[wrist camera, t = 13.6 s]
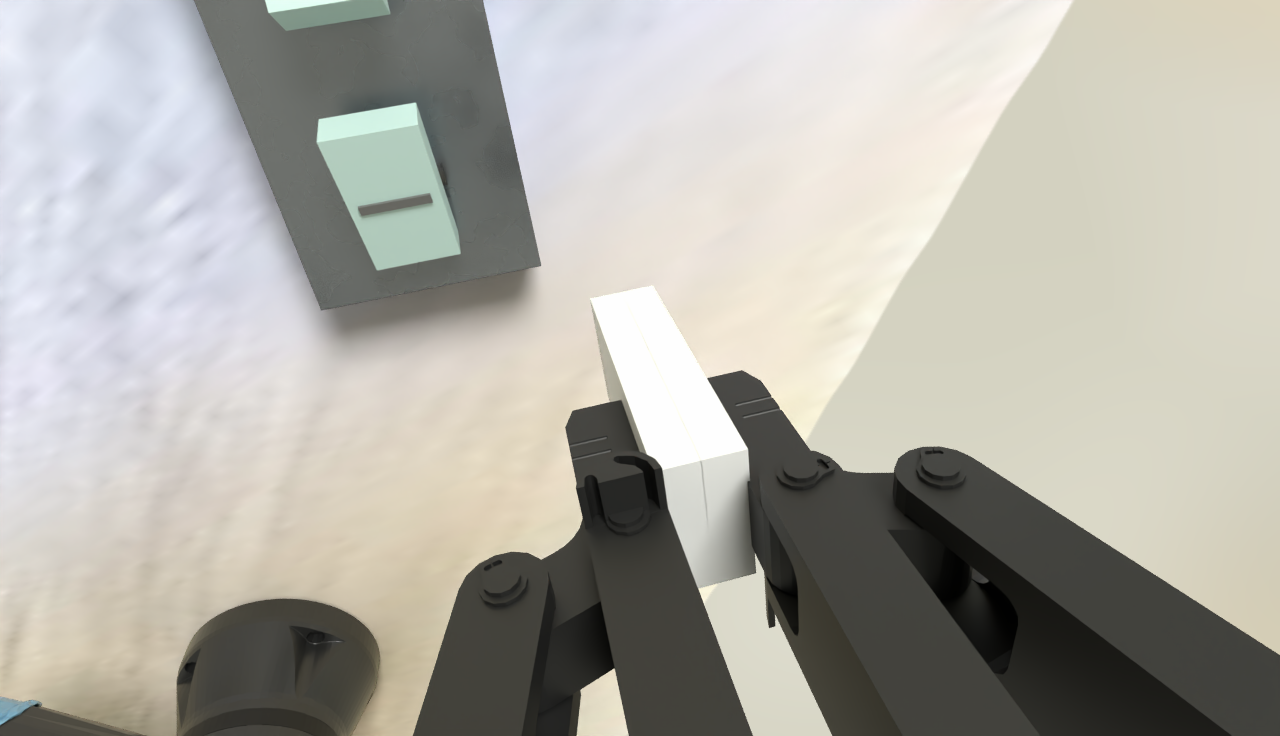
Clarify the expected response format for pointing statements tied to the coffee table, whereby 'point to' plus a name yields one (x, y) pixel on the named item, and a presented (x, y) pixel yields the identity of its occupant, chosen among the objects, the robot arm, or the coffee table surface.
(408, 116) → the switch
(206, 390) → the coffee table surface
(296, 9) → the switch
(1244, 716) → the robot arm
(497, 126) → the console
